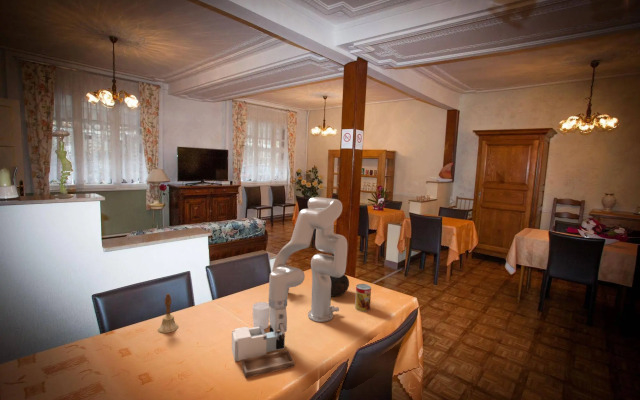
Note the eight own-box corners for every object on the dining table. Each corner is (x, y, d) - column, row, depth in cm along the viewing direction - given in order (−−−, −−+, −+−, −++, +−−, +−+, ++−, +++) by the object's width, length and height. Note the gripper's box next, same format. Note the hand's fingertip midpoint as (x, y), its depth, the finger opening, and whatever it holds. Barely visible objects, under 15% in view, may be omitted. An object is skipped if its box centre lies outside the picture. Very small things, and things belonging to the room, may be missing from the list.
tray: (287, 354, 123) (287, 349, 123) (294, 366, 116) (294, 361, 116) (241, 364, 116) (241, 359, 116) (245, 377, 109) (245, 372, 108)
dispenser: (261, 344, 129) (262, 324, 128) (266, 355, 122) (266, 333, 121) (231, 350, 125) (232, 329, 124) (234, 361, 117) (235, 339, 116)
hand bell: (182, 326, 141) (182, 292, 140) (166, 335, 134) (166, 299, 132) (169, 322, 145) (169, 288, 143) (153, 330, 137) (152, 295, 135)
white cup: (265, 331, 139) (266, 310, 138) (249, 329, 141) (249, 308, 140) (272, 323, 147) (272, 303, 146) (256, 321, 148) (256, 301, 147)
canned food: (368, 312, 162) (369, 290, 160) (353, 309, 164) (354, 287, 163) (371, 306, 169) (372, 285, 168) (356, 303, 172) (357, 282, 170)
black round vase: (320, 286, 195) (322, 242, 192) (349, 288, 193) (351, 244, 190) (316, 297, 178) (318, 249, 175) (347, 300, 175) (350, 252, 172)
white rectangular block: (281, 343, 131) (282, 330, 130) (284, 349, 127) (284, 335, 126) (248, 350, 125) (248, 335, 125) (249, 355, 122) (249, 341, 121)
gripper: (293, 309, 119) (292, 351, 121) (280, 292, 135) (279, 330, 137) (274, 312, 116) (273, 355, 118) (263, 294, 132) (262, 333, 134)
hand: (276, 342), depth 127 cm, fingers open, 9 cm apart
